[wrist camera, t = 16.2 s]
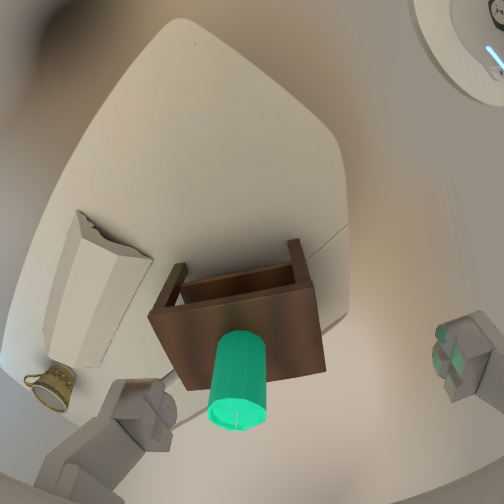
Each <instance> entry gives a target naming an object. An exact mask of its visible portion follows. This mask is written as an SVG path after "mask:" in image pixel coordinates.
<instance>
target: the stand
mask: <svg viewBox="0 0 504 504" xmlns="http://www.w3.org/2000/svg"><path fill="white" fill-rule="evenodd" d="M288 246H289V251H290V257H291V261H290V262H286V263H281V264H276V265H271V266H266V267H261V268H256V269H251V270H246V271H241V272H236V273H231V274H226V275H221V276H216V277H211V278H206V279H201V280H196V281H190V282H185V283H184V281H185V278H186V276H187V274H188V270H187V268H186V265H185V263H180V264H175V265H174V267H173V269H172V270H171V272H170V274H169V276H168V278H167V280H166V282H165V284H164V286H163V288H162V290H161V292H160V294H159V296H158V298H157V300H156V302H155V304H154V306H153V308H152V310H150V312H149V314H148V316H147V317H148V319H149V321H150V323H151V325H152V327H153V329H154V331H155V333H156V335H157V337H158V339H159V341H160V343H161V345H162V347H163V349H164V350H165V352H166V354H167V356H168V358H169V360H170V362H171V363H172V365H173V367H174V369H175V371H176V372H177V374H178V376H179V378H180V379H181V381H182V383H183V385H184V386H185V388H186V390H187V391H193V390H205V389H211V383H212V377H213V371H214V365H215V359H216V353H217V346H218V342H219V341H220V339H221V338H222V337H223V336H224V335H225V334H227V333H230V332H232V331H235V330H240V331H250V332H252V333H254V334H256V335H258V336H260V337H261V339H262V340H263V342H264V343H265V345H266V382H271V381H278V380H284V379H290V378H296V377H301V376H307V375H312V374H317V373H322V372H326V366H325V358H324V351H323V344H322V336H321V329H320V323H319V316H318V309H317V303H316V297H315V291H314V286H313V282H312V280H311V278H310V275H309V271H308V267H307V264H306V260H305V257H304V253H303V250H302V246H301V243H300V239H294V240H289V241H288ZM179 293H181V295H182V298H183V300H184V303H185V304H184V305H178V306H174V305H175V303H176V300H177V298H178V296H179Z"/></svg>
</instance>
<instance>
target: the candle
mask: <svg viewBox="0 0 504 504" xmlns="http://www.w3.org/2000/svg"><path fill="white" fill-rule="evenodd" d="M207 410H208V420H210V421H211V422H213V423H214V424H215V425H217V426H219V427H222V428H224V429H227V430H230V431H244V430H247V429H249V428H251V427H254V426H256V425H258V424H260V423H262V422H264V421H265V419H266V345H265V343H264V342H263V340H262V339H261V337H260V336H258V335H256V334H254V333H252V332H250V331H240V330H235V331H232V332H230V333H227V334H225V335H224V336H223V337H222V338H221V339H220V341H219V342H218V346H217V353H216V359H215V365H214V371H213V377H212V383H211V390H210V396H209V402H208V409H207Z"/></svg>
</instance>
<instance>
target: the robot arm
mask: <svg viewBox="0 0 504 504" xmlns="http://www.w3.org/2000/svg"><path fill="white" fill-rule="evenodd" d="M450 12H451V18H452V22H453V25H454V28H455V30H456V33H457V35H458V37H459V39H460V40H461V42H462V43H463V45H464V46H465V48H466V49H467V50H468V52H469V53H470V54H471V55H472V56H473V57H474V58H475V59H476V60H478V61H479V62H480V63H481V64H482V65H483V66H484V67H485V69H486V70H487V72H488V73H489V75H490V76H491V78H492V79H493V80H494V81H501V80H504V0H451V5H450ZM435 336H436V338H437V340H438V341H437V343H436V344H435V345H434V347H433V353H432V358H433V365H434V368H435V371H436V373H437V375H438V376H439V377H441V378H443V379H445V384H444V388H445V390H446V392H447V394H448V396H449V398H450V400H451V402H452V403H453V402H456V401H458V400H461V399H463V398H466V397H468V396H471V395H473V394H476V396H478V397H479V398H481V399H482V400H484V401H485V402H487V403H488V404H490V405H491V406H493V407H494V408H496V409H497V410H499V411H500V412H502V413H503V414H504V336H503V335H502V333H501V332H500V331H499V330H498V329H497V328H496V326H495V325H494V324H493V323H492V321H491V320H490V319H489V318H488V317H487V315H486V314H485V313H484V312H483V311H480V310H479V311H476V312H474V313H471V314H468V315H466V316H463V317H460V318H457V319H455V320H452V321H449V322H446V323H443V324H440V325H438V327H437V329H436V334H435ZM164 389H165V385H164V384H163V382H162V381H161V379H157V378H151V379H116V380H115V381H114V382H113V383H112V385H111V387H110V389H109V392H108V394H107V396H106V398H105V401H104V403H103V405H102V407H101V410H100V412H99V414H98V417H97V418H96V417H93V418H92V419H91V420H90V421H89V422H87V423H86V424H85V425H84V426H82V427H81V428H80V429H79V430H78V431H76V432H75V433H74V434H73V435H71V436H70V437H69V438H68V439H66V440H65V441H64V442H63V443H62V444H60V445H59V446H58V447H57V448H55V449H54V450H53V451H52V452H50V453H49V454H48V455H47V456H46V458H45V460H44V462H43V465H42V467H41V469H40V471H39V474H38V476H37V479H36V481H35V483H34V486H30V485H28V484H26V483H23V482H21V481H19V480H17V479H14V478H12V477H10V476H8V475H6V474H4V473H2V472H0V504H124V503H125V502H124V500H123V499H122V498H121V497H119V496H118V495H117V494H115V493H114V492H112V491H113V490H114V489H115V488H116V487H117V485H118V484H119V483H120V482H121V481H122V480H123V478H124V477H125V476H126V475H127V474H128V473H129V472H130V470H131V469H132V468H133V467H134V466H135V465H136V463H137V462H138V461H139V460H140V459H141V457H142V456H143V455H144V454H145V452H169V450H170V445H171V441H172V437H173V434H172V432H171V431H170V428H171V427H172V426H173V425H174V424H175V423H176V419H177V407H176V404H175V401H174V399H173V398H172V396H171V395H170V394H168V393H166V392H165V391H164ZM392 504H504V456H503V457H501V458H499V459H498V460H496V461H494V462H492V463H490V464H488V465H486V466H485V467H483V468H481V469H479V470H477V471H475V472H472V473H470V474H468V475H467V476H464V477H462V478H460V479H457V480H455V481H453V482H451V483H448V484H446V485H443V486H441V487H438V488H436V489H433V490H431V491H428V492H425V493H423V494H420V495H417V496H414V497H411V498H408V499H405V500H402V501H398V502H395V503H392Z"/></svg>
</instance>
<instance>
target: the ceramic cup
mask: <svg viewBox="0 0 504 504" xmlns="http://www.w3.org/2000/svg"><path fill="white" fill-rule="evenodd" d="M38 376H41V377H40V378H39V379H38V380H37V381H36V382H34V383H28V382H26V381H25V379H26V378H27V377H38ZM75 377H76V375H75V374H74V373H73V371H72V370H71V369H70V368H69V367H68V366H66V365H64V364H62V363H54V364H53V365H52V366H51V367H50V368H49V369H48V370H47V371H46V372H45V373H44V374H37V375H27V376H25V377H24V383H25V384H26V385H27V386H29V387H31V392H32V394H33V395H34V397H35V398H36V399H37V400H38V402H39V403H40V404H42V405H43V406H44V407H46V408H47V409H49V410H51V411H53V412H55V413H58V414H64V413H66V412H67V409H68V405H69V401H70V396H71V392H72V389H73V386H74V383H75Z"/></svg>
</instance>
